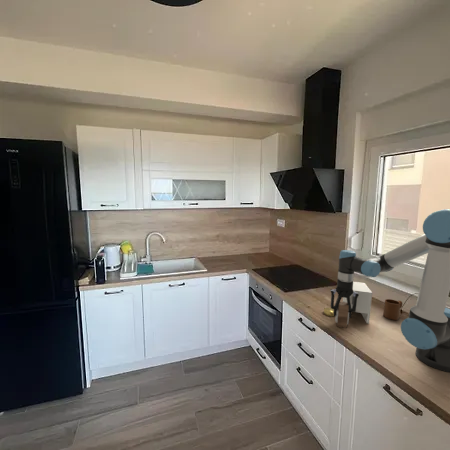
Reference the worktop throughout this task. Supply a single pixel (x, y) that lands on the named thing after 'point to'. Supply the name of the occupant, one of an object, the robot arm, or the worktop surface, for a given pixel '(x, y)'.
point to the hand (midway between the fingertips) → (341, 322)
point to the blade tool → (342, 314)
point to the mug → (392, 309)
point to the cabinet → (362, 299)
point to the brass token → (329, 312)
